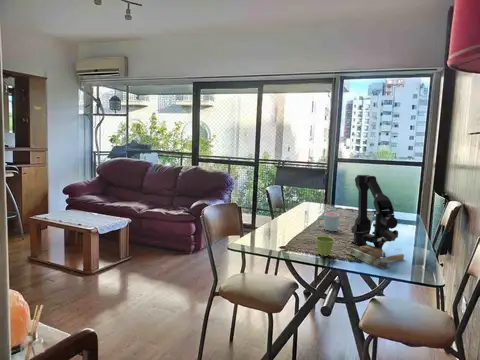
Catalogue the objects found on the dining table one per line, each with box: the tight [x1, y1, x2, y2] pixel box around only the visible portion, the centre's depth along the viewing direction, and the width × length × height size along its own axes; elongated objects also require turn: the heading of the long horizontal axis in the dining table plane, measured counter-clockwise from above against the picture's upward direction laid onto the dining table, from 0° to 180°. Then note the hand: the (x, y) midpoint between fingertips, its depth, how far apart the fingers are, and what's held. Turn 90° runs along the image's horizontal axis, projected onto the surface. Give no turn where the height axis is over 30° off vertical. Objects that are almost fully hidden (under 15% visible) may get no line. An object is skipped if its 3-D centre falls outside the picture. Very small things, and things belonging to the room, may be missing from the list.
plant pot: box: [315, 235, 335, 256], centre depth 188 cm, size 9×9×9 cm
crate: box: [358, 244, 384, 259], centre depth 185 cm, size 8×8×6 cm
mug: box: [316, 212, 340, 232], centre depth 236 cm, size 14×9×10 cm
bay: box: [350, 247, 405, 267], centre depth 188 cm, size 15×22×4 cm
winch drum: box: [376, 252, 390, 270], centre depth 174 cm, size 4×4×7 cm
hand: (378, 252), depth 188 cm, fingers closed
